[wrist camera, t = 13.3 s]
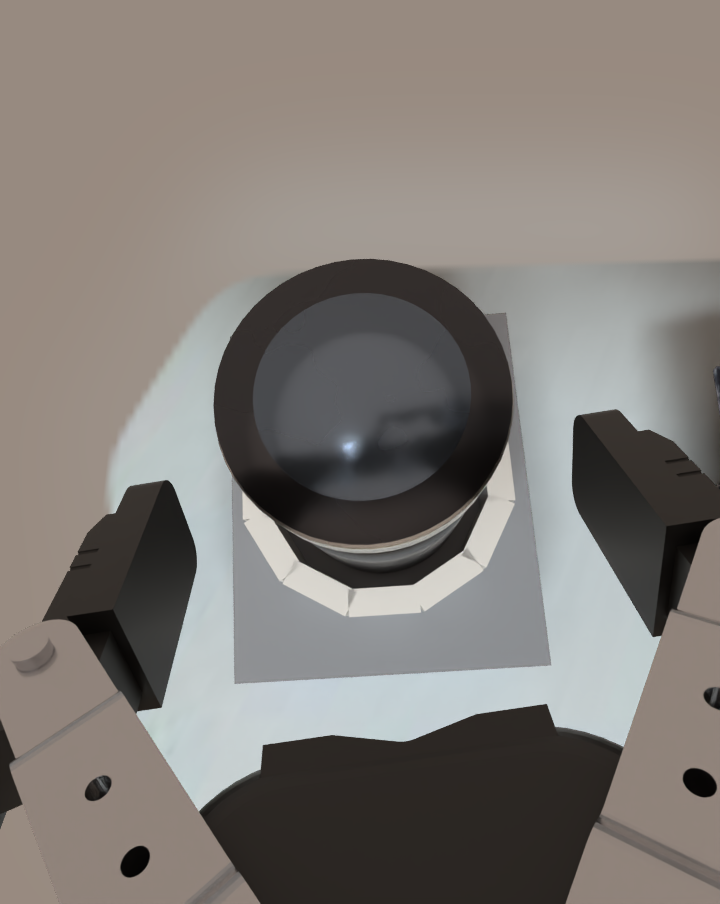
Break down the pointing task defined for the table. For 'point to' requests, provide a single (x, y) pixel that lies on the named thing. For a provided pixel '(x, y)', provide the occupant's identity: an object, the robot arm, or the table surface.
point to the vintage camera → (717, 388)
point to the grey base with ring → (394, 592)
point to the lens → (364, 410)
